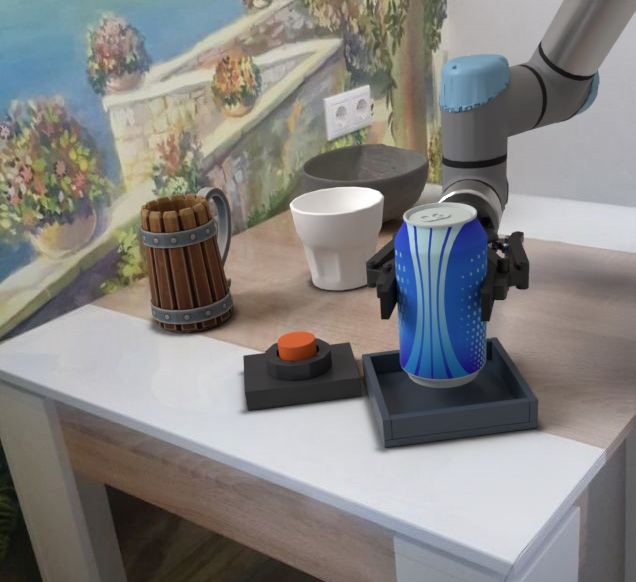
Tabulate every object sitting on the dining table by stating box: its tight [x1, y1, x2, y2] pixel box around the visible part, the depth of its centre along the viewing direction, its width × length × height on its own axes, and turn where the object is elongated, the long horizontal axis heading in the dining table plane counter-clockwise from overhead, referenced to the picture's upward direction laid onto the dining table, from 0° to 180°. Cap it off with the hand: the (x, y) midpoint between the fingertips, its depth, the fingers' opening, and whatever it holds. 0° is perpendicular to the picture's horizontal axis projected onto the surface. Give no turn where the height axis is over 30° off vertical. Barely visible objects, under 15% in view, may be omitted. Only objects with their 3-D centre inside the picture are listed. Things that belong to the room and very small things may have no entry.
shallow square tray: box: [361, 336, 539, 448], centre depth 88 cm, size 15×15×3 cm
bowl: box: [300, 143, 430, 224], centre depth 140 cm, size 20×20×10 cm
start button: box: [277, 330, 317, 361], centre depth 93 cm, size 4×4×2 cm
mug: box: [140, 186, 234, 333], centre depth 113 cm, size 16×11×15 cm
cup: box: [289, 187, 384, 292], centre depth 119 cm, size 12×12×11 cm
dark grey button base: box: [243, 337, 363, 411], centre depth 94 cm, size 12×9×4 cm
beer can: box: [394, 202, 488, 388], centre depth 83 cm, size 8×8×16 cm
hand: (434, 306), depth 79 cm, fingers closed on beer can, 8 cm apart
